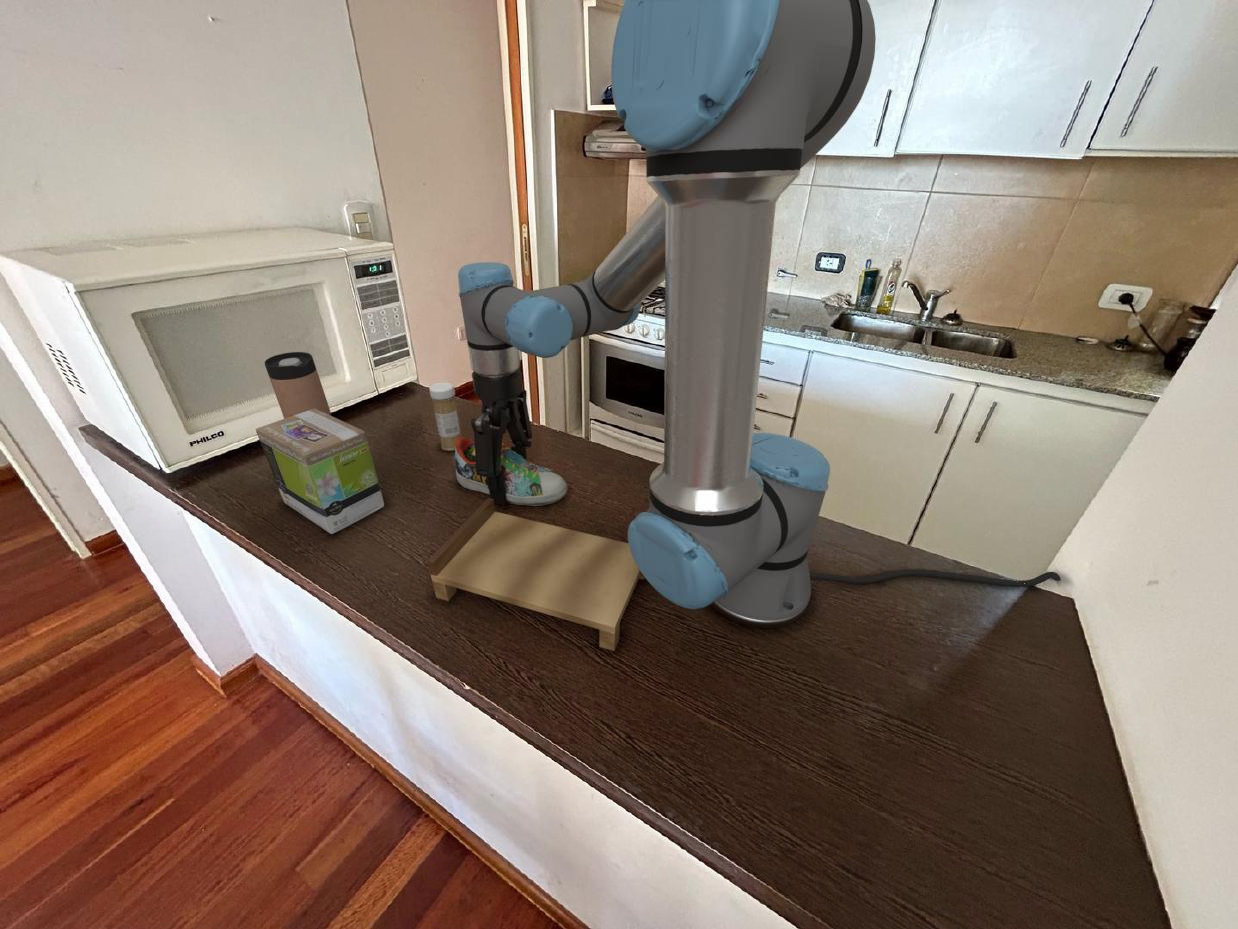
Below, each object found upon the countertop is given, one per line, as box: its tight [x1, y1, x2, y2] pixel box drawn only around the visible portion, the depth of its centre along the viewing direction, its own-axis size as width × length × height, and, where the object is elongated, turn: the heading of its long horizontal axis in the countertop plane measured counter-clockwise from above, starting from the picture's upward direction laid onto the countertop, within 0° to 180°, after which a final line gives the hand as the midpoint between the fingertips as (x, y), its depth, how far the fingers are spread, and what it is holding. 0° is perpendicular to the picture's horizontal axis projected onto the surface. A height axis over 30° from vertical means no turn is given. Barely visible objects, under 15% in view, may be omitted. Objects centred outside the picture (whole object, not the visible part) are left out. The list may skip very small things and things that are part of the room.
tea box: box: [255, 409, 385, 535], centre depth 83 cm, size 15×10×15 cm
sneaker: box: [454, 435, 569, 507], centre depth 89 cm, size 8×21×10 cm, turn 71°
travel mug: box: [264, 351, 333, 419], centre depth 96 cm, size 8×8×20 cm
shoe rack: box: [426, 497, 646, 652], centre depth 71 cm, size 26×15×7 cm, turn 71°
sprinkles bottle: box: [428, 381, 463, 452], centre depth 101 cm, size 5×5×13 cm
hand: (510, 489), depth 91 cm, fingers closed on sneaker, 7 cm apart
